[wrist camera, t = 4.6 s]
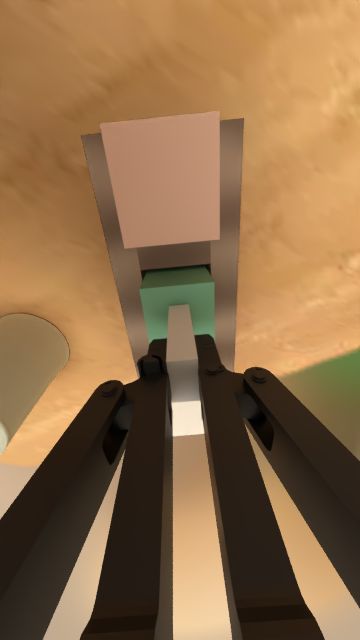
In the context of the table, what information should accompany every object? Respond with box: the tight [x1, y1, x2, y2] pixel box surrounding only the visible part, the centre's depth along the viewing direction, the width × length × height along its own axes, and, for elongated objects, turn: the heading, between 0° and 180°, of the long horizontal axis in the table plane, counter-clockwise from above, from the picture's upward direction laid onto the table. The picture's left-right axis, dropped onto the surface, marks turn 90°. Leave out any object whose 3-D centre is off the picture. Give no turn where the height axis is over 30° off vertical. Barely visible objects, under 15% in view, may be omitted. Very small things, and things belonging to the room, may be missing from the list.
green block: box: [139, 264, 215, 344], centre depth 19 cm, size 5×5×7 cm
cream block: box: [172, 401, 204, 436], centre depth 22 cm, size 5×5×7 cm
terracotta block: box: [99, 111, 220, 249], centre depth 14 cm, size 5×5×7 cm
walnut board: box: [81, 118, 244, 379], centre depth 22 cm, size 25×11×4 cm, turn 5°
